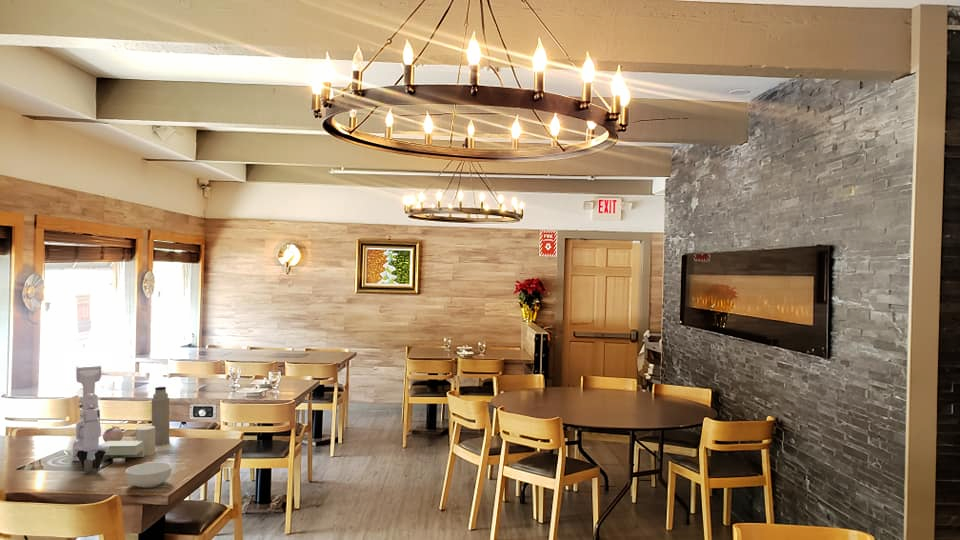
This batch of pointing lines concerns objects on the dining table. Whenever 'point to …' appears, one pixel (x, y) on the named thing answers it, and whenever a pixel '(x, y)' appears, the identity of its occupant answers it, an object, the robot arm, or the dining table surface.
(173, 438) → the dining table surface
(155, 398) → the thermos bottle
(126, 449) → the pale green rectangular block
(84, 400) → the robot arm
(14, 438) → the dining table surface
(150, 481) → the cereal bowl
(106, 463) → the dark grey long block
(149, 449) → the beige cylinder
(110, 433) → the decorative fruit
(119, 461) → the token
